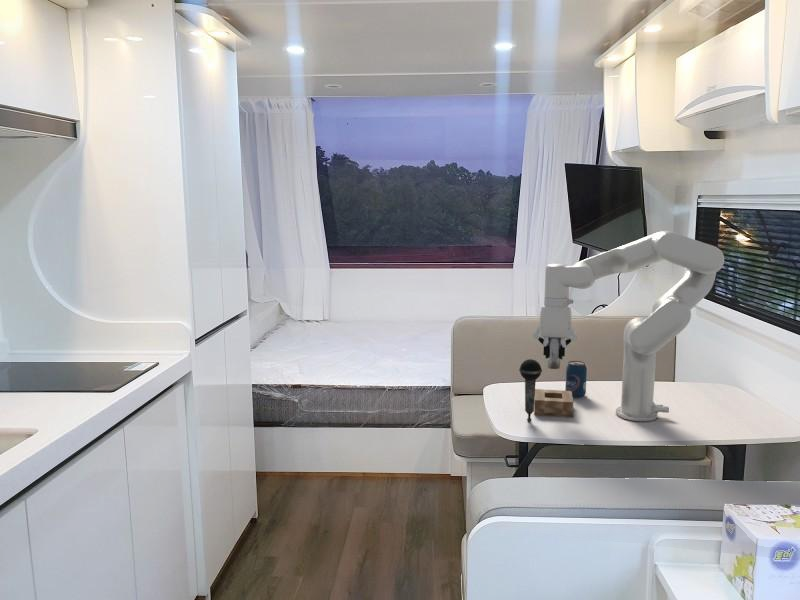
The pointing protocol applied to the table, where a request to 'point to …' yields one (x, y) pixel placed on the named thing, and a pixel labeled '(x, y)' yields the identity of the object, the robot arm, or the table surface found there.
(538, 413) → the socket block
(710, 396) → the table surface
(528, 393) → the microphone
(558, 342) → the pin
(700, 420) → the table surface
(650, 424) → the table surface
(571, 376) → the soda can
